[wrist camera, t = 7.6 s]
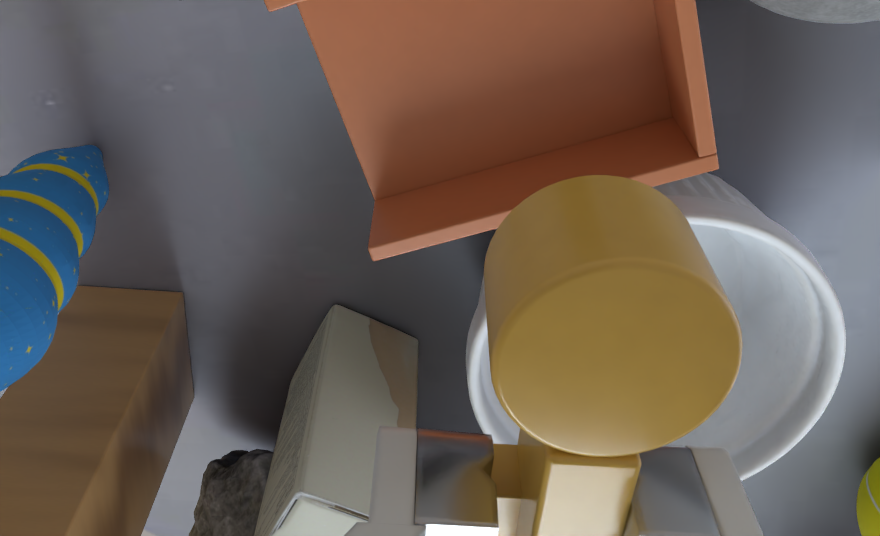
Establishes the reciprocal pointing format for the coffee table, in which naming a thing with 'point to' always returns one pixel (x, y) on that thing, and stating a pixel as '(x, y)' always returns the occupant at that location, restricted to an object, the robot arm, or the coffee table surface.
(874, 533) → the tennis ball
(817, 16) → the decorative ball
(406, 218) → the tray
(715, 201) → the ramekin
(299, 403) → the box
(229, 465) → the decorative rock
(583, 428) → the key
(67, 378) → the wooden post
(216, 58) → the coffee table surface
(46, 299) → the ornament
